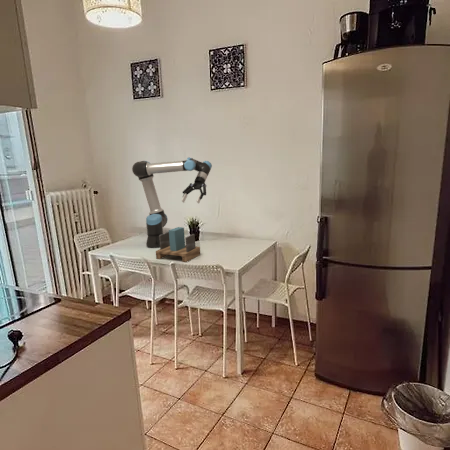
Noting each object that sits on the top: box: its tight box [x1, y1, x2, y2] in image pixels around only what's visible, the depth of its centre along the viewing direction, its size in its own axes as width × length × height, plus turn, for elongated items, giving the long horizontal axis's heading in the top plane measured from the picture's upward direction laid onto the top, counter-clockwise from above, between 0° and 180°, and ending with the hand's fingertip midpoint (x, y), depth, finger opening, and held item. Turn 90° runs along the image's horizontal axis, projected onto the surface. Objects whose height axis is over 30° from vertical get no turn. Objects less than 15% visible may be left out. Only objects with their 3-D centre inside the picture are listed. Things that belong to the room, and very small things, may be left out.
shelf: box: [155, 231, 201, 263], centre depth 244 cm, size 24×18×16 cm
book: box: [168, 226, 186, 251], centre depth 243 cm, size 5×10×14 cm, turn 149°
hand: (190, 202), depth 261 cm, fingers open, 13 cm apart
